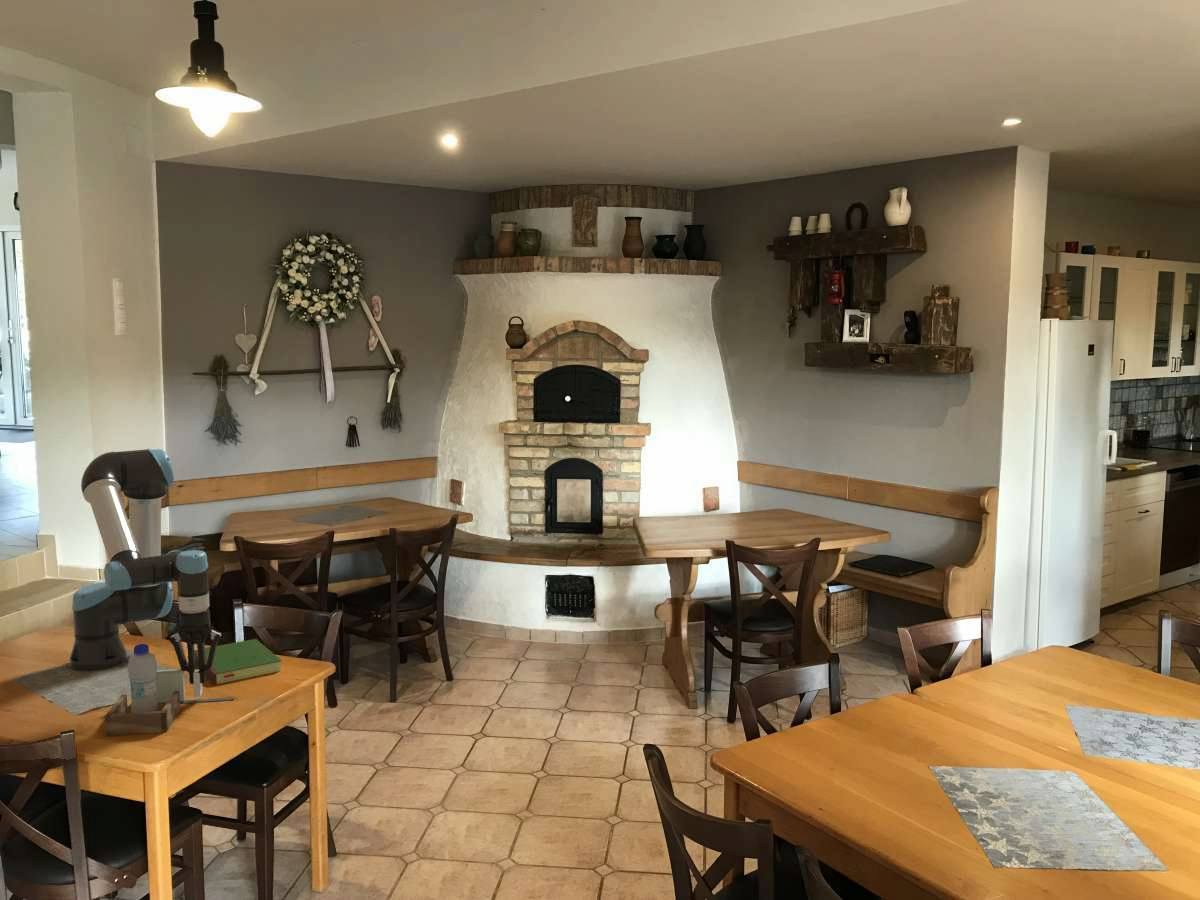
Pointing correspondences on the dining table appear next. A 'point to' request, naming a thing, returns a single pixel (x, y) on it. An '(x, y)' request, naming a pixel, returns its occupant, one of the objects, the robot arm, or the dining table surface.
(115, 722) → the cradle
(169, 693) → the pale grey flat panel
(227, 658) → the hardcover book
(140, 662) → the bottle
